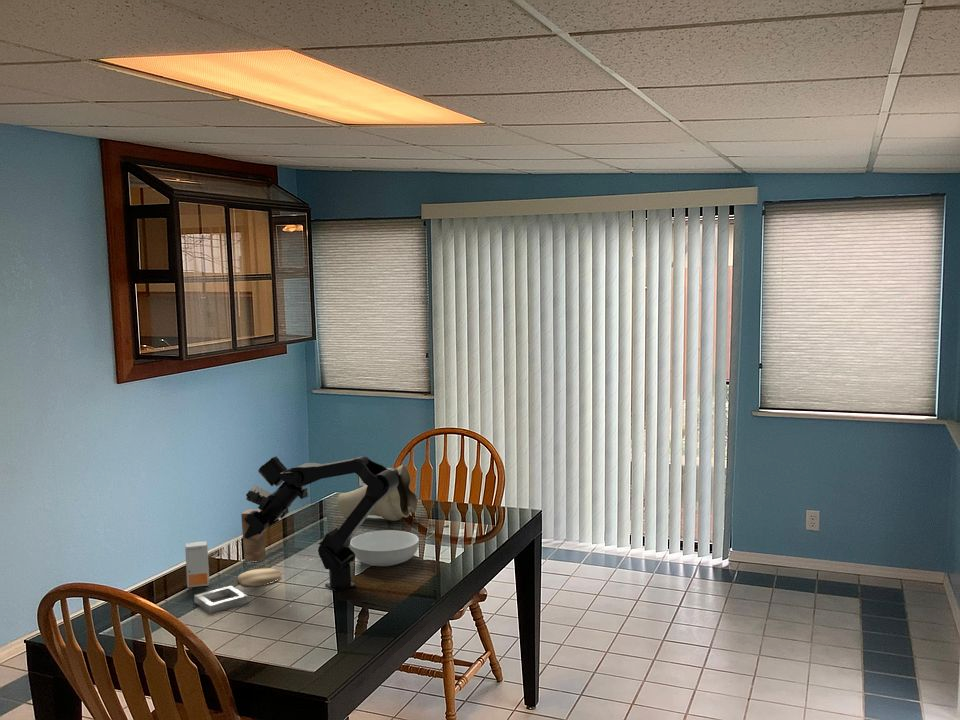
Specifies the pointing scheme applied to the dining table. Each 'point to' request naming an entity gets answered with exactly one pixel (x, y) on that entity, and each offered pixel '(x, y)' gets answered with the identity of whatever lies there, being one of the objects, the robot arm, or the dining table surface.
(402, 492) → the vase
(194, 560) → the skincare box
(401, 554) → the serving bowl
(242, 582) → the cork coaster
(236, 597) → the grey square frame
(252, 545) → the tan tall block
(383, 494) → the robot arm
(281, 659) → the dining table surface
